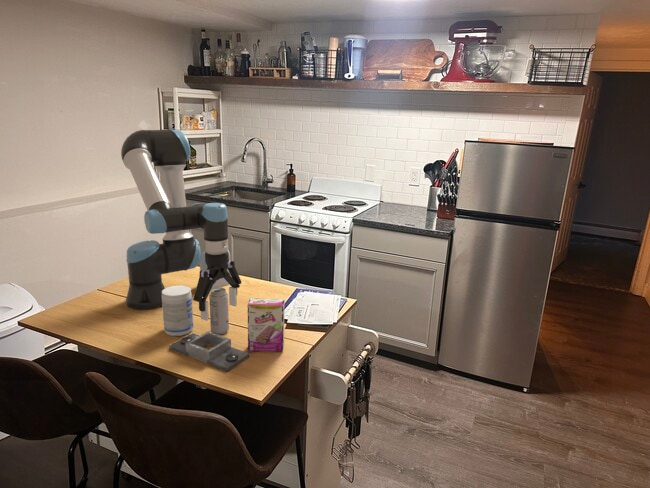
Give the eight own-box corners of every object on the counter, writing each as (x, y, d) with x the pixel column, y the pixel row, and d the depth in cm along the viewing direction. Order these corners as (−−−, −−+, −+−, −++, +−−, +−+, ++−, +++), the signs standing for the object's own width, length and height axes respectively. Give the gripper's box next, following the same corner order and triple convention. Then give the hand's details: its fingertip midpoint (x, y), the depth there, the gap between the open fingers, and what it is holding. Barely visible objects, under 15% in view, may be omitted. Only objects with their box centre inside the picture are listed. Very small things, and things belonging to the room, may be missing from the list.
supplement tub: (195, 334, 156) (193, 293, 152) (166, 339, 152) (163, 297, 148) (191, 322, 165) (188, 283, 161) (162, 326, 161) (159, 287, 157)
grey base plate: (169, 349, 147) (168, 337, 145) (192, 336, 155) (192, 325, 154) (227, 371, 135) (226, 359, 134) (249, 356, 143) (249, 345, 142)
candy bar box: (247, 352, 146) (246, 304, 141) (249, 344, 151) (248, 297, 146) (283, 353, 146) (283, 304, 141) (284, 345, 151) (284, 298, 146)
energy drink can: (231, 333, 158) (230, 292, 153) (214, 337, 155) (212, 295, 150) (225, 326, 163) (224, 286, 158) (208, 329, 160) (206, 289, 155)
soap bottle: (212, 291, 192) (209, 227, 185) (200, 286, 197) (197, 223, 190) (233, 284, 200) (232, 222, 192) (222, 279, 205) (219, 219, 198)
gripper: (196, 263, 138) (200, 328, 144) (250, 244, 159) (252, 302, 165) (178, 259, 142) (183, 323, 148) (233, 241, 163) (235, 297, 169)
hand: (219, 312), depth 156 cm, fingers open, 13 cm apart
